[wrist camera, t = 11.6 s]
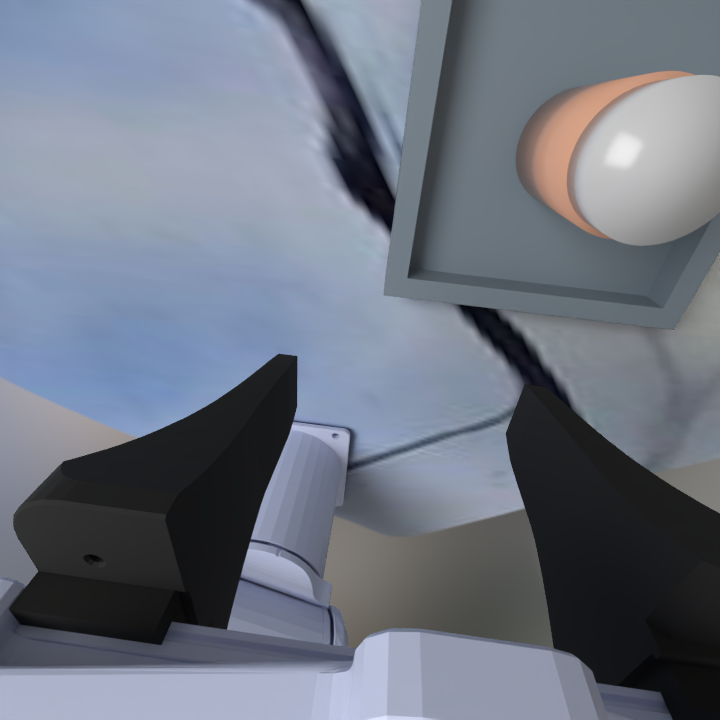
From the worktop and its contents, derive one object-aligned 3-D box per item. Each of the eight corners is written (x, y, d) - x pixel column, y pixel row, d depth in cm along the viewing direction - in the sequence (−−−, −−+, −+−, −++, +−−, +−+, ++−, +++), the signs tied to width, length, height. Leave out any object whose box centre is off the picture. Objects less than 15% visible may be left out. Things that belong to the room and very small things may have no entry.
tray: (385, 277, 21) (383, 295, 19) (434, -101, 14) (440, -138, 12) (646, 308, 21) (673, 329, 19) (841, -63, 14) (922, -95, 11)
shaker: (502, 197, 18) (552, 241, 12) (535, 79, 16) (621, 53, 9) (600, 211, 18) (705, 262, 11) (649, 93, 15) (815, 76, 9)
